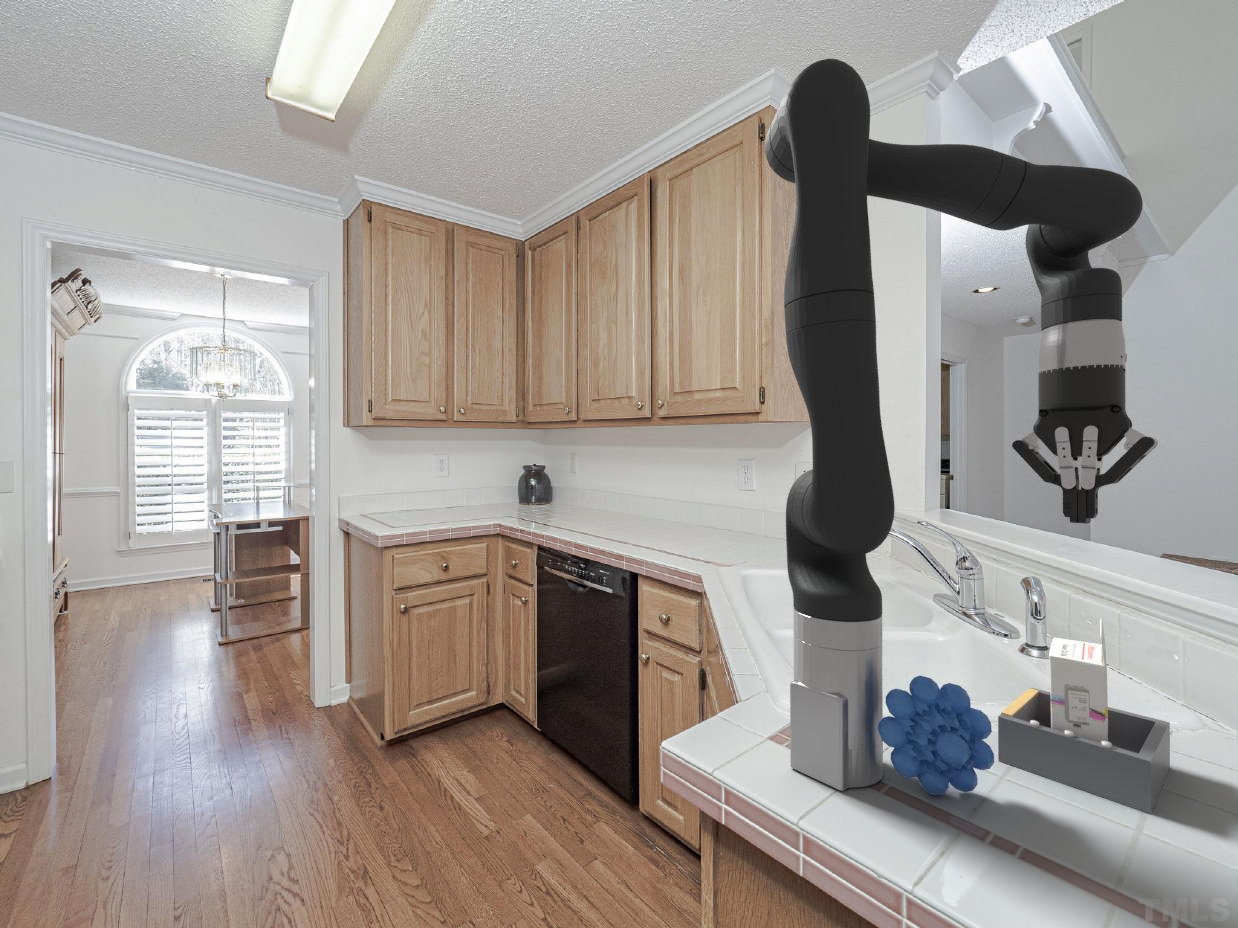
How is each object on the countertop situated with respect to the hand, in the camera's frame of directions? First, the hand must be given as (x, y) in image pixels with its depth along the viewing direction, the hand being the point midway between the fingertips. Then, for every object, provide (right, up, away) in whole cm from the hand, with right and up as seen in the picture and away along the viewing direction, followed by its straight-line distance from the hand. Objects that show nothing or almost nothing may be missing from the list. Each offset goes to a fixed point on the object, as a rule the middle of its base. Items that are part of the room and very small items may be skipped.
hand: (1080, 522), depth 63 cm
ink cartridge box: (0, -26, 0) cm, 26 cm away
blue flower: (-19, -27, -7) cm, 34 cm away
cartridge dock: (0, -27, 0) cm, 27 cm away
